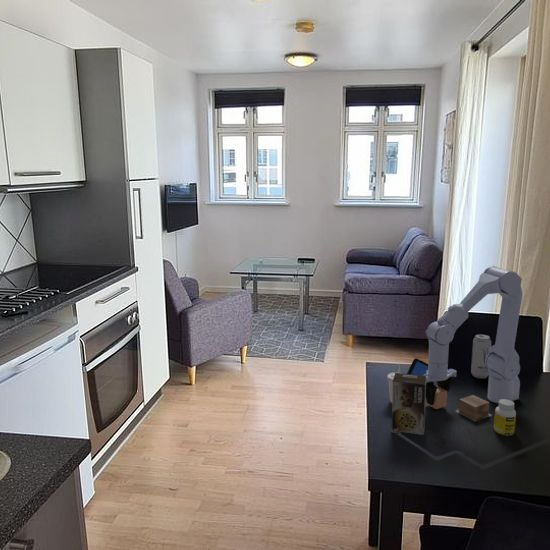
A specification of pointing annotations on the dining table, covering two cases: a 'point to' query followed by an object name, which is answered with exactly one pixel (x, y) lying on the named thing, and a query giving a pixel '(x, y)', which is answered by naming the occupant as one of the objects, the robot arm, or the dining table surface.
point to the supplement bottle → (505, 418)
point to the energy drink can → (480, 356)
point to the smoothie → (391, 383)
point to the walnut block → (473, 407)
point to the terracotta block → (439, 399)
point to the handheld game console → (418, 368)
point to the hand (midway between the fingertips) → (436, 402)
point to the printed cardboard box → (408, 403)
